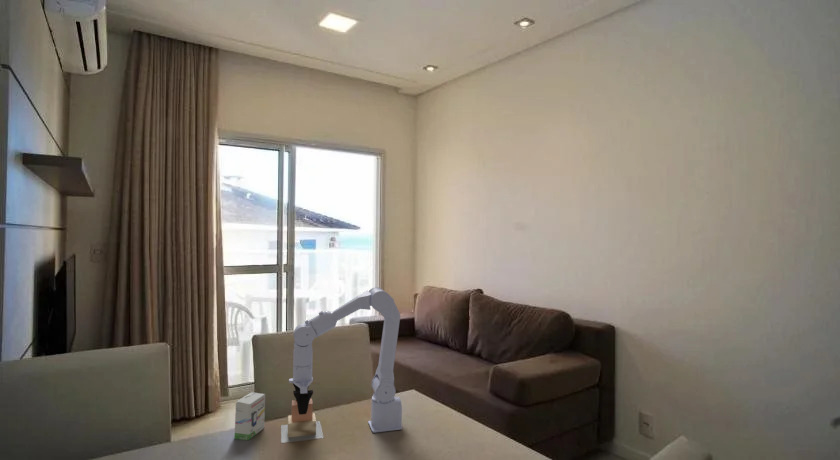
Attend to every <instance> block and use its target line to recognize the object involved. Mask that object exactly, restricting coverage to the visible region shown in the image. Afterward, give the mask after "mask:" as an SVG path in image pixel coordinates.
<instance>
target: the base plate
mask: <svg viewBox="0 0 840 460" xmlns="http://www.w3.org/2000/svg"><path fill="white" fill-rule="evenodd" d="M318 439H319V440H320V439H324V433H323V428H322V425H321V421H320V420H316V434H313V435H305V436H296V437H288V423H287V424H281V425H280V442H281V444H285V443H293V442H302V441H303V442H304V441H309V440H310V441H311V440H318Z"/></svg>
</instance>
